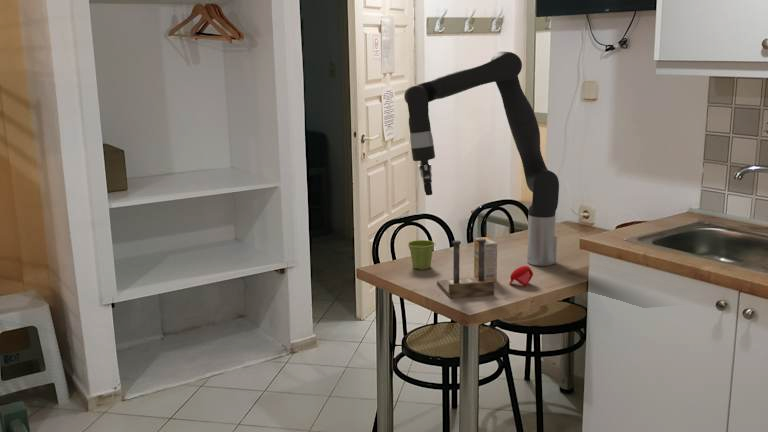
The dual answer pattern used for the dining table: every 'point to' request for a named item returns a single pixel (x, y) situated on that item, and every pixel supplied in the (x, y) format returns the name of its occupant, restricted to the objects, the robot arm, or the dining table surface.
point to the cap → (522, 275)
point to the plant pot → (421, 253)
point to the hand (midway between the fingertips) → (428, 193)
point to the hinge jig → (467, 285)
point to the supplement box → (486, 259)
